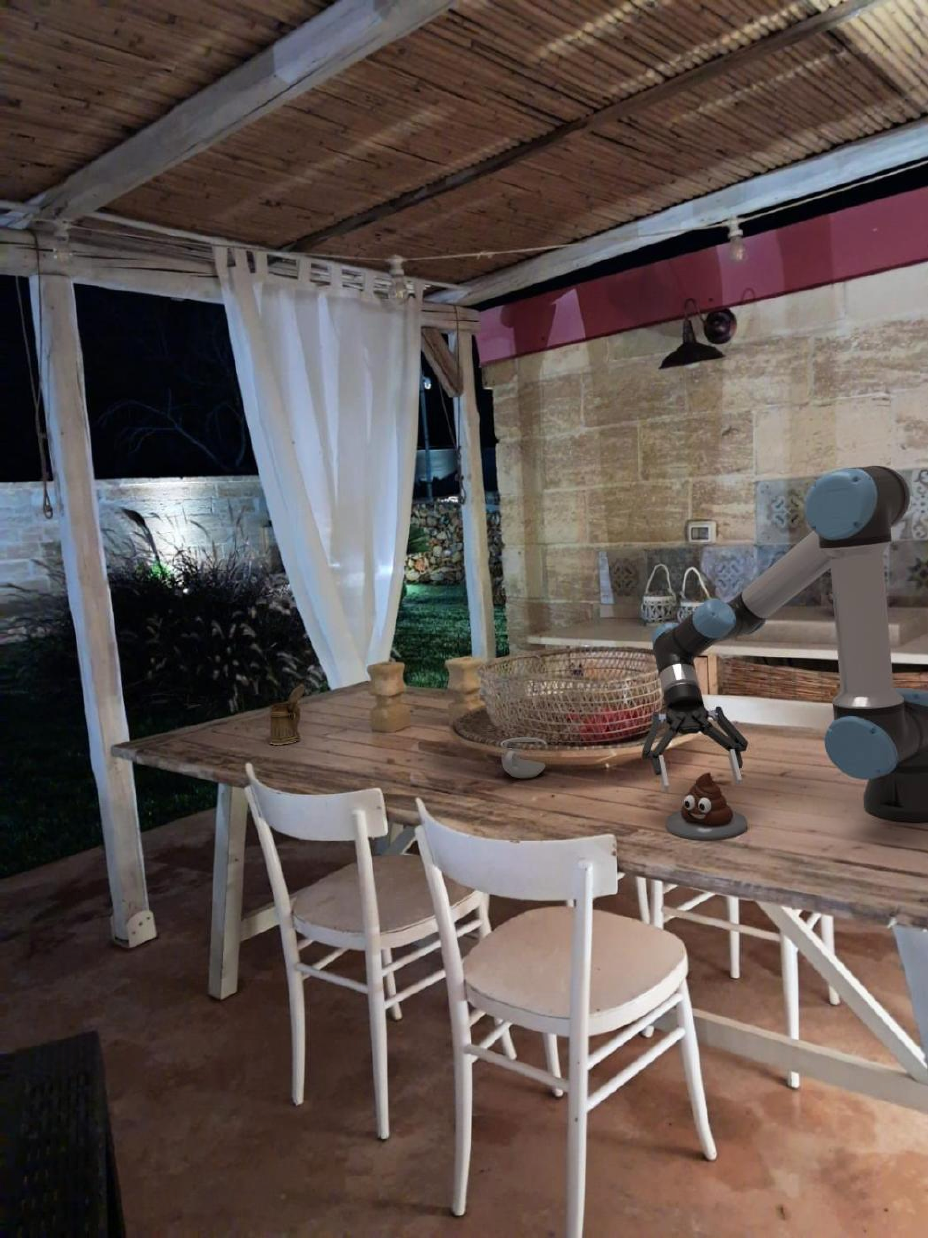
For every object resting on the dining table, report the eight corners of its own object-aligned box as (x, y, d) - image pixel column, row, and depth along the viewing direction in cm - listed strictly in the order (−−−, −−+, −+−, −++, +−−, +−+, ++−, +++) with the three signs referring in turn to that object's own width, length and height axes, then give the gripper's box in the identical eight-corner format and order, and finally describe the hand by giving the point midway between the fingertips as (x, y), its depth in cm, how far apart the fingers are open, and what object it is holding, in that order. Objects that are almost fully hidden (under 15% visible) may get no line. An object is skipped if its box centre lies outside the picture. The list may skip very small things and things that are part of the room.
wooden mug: (299, 747, 266) (291, 686, 263) (263, 745, 272) (256, 685, 270) (318, 739, 273) (311, 679, 271) (283, 737, 280) (276, 679, 278)
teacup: (520, 766, 227) (518, 734, 226) (557, 771, 220) (555, 738, 219) (485, 782, 216) (482, 749, 215) (523, 788, 209) (520, 753, 208)
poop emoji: (741, 817, 176) (738, 769, 175) (719, 831, 170) (716, 782, 169) (694, 808, 183) (691, 762, 182) (671, 822, 177) (668, 774, 176)
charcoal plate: (735, 809, 183) (735, 805, 183) (756, 837, 168) (756, 831, 168) (659, 815, 184) (659, 810, 184) (673, 843, 169) (673, 838, 169)
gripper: (740, 696, 190) (765, 790, 177) (619, 707, 191) (635, 800, 178) (746, 676, 184) (772, 771, 171) (620, 687, 185) (637, 782, 172)
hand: (702, 786), depth 174 cm, fingers open, 13 cm apart
